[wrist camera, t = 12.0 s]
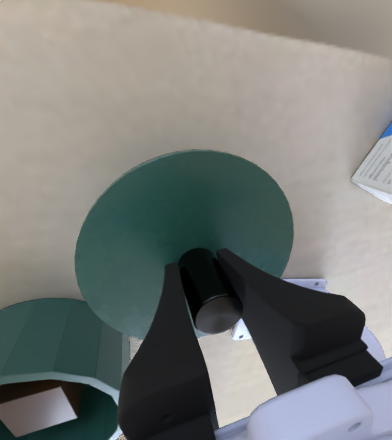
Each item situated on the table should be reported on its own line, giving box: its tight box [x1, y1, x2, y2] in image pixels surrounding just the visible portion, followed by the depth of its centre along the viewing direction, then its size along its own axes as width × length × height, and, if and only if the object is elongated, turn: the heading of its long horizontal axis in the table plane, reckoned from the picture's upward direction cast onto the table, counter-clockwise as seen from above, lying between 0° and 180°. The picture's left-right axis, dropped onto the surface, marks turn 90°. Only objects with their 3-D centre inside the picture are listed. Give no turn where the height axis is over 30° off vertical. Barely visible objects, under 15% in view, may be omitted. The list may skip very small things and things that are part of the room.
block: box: [0, 379, 83, 437], centre depth 18 cm, size 4×4×4 cm
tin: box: [0, 298, 130, 440], centre depth 18 cm, size 12×12×6 cm
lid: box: [75, 149, 293, 340], centre depth 13 cm, size 13×13×5 cm
